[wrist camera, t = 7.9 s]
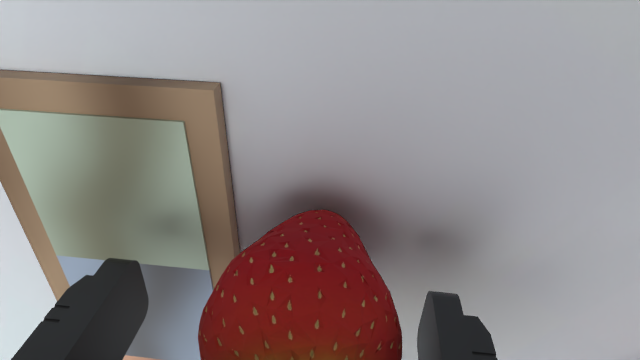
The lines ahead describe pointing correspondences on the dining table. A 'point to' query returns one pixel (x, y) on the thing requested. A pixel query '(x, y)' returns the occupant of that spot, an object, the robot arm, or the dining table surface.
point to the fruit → (301, 298)
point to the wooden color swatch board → (124, 189)
